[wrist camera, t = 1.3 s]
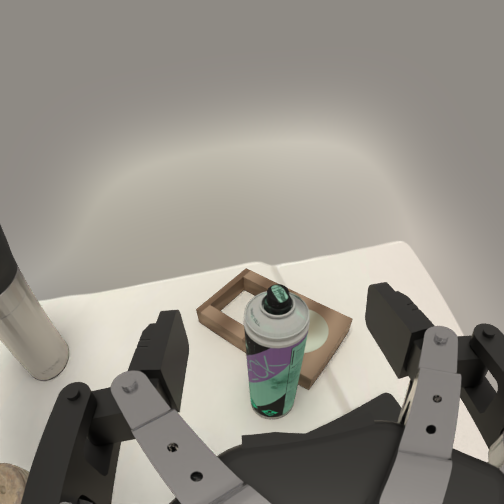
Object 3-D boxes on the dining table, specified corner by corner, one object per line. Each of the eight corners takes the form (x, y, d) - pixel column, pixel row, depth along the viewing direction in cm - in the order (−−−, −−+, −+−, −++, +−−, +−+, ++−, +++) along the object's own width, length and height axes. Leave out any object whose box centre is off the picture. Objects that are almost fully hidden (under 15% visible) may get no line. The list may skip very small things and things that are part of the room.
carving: (94, 515, 19) (33, 500, 11) (59, 536, 14) (-6, 522, 7) (68, 478, 22) (8, 448, 15) (35, 498, 17) (-27, 472, 10)
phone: (288, 440, 29) (388, 389, 33) (288, 442, 29) (386, 392, 33) (314, 489, 23) (416, 429, 27) (313, 490, 24) (414, 431, 28)
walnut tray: (199, 321, 45) (195, 308, 43) (246, 281, 52) (246, 267, 50) (308, 389, 35) (311, 379, 33) (348, 331, 42) (352, 318, 40)
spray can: (265, 376, 37) (265, 260, 25) (301, 393, 34) (325, 282, 22) (242, 406, 33) (226, 300, 21) (279, 426, 31) (293, 330, 19)
